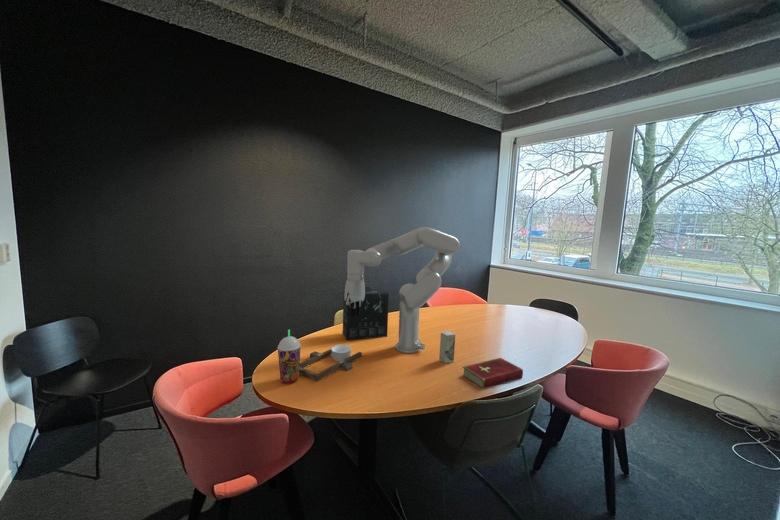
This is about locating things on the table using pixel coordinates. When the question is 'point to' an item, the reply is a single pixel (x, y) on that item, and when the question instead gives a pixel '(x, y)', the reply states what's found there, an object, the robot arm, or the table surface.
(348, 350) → the ramekin
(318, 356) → the beam track
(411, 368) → the table surface
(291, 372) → the smoothie
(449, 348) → the box
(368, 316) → the headset box
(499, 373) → the hardcover book
